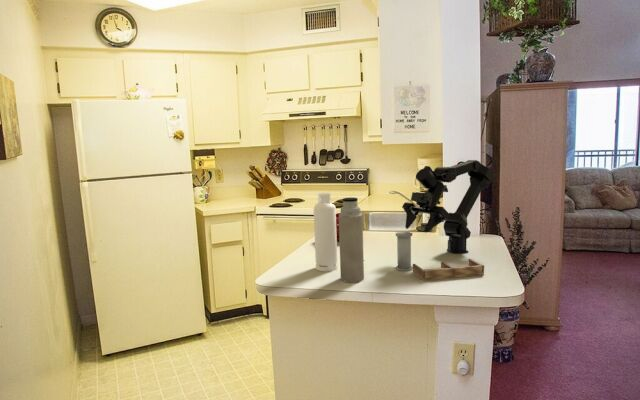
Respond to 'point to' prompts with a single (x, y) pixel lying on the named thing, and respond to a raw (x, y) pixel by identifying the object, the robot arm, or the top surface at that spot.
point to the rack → (449, 271)
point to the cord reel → (404, 251)
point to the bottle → (325, 233)
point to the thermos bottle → (351, 241)
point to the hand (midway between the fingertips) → (415, 230)
